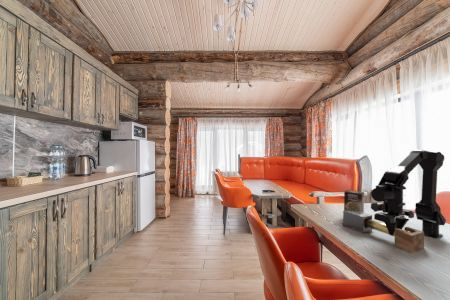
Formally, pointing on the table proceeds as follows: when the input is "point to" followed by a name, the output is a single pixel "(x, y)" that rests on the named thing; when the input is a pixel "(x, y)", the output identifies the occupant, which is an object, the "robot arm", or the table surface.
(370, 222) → the tube
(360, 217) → the sleeve
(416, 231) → the socket cradle
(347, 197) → the coffee box
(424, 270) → the table surface
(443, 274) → the table surface
